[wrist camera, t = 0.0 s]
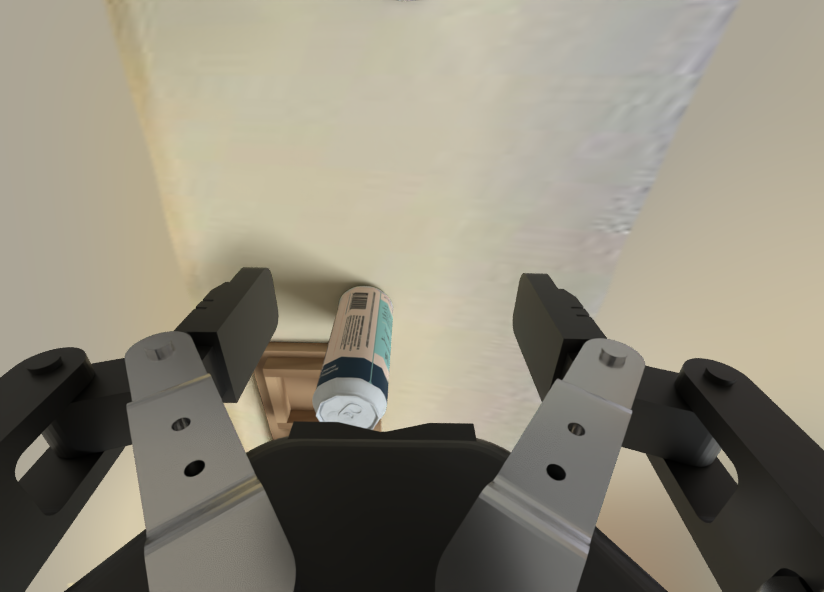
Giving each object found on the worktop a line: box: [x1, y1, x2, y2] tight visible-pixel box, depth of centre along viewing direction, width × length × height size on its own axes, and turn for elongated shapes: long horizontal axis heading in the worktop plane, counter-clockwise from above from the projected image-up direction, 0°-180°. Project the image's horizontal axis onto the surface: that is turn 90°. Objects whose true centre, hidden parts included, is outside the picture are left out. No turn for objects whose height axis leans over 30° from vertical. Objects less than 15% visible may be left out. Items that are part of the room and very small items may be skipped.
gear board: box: [254, 342, 381, 440], centre depth 39 cm, size 17×12×3 cm
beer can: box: [312, 286, 393, 430], centre depth 29 cm, size 5×5×12 cm
